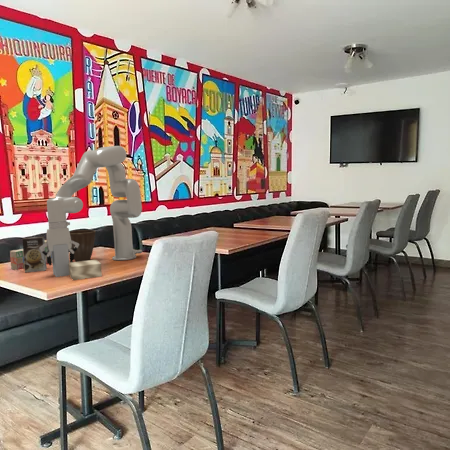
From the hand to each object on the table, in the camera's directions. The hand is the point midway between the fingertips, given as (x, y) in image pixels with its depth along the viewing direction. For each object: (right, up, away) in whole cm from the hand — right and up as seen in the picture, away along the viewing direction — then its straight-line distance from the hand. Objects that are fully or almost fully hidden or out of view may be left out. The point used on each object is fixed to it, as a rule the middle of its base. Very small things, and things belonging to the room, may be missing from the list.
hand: (60, 263), depth 189 cm
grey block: (0, -5, +1) cm, 5 cm away
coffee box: (-17, -5, +13) cm, 22 cm away
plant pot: (-1, -2, +33) cm, 33 cm away
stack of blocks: (-24, -4, +27) cm, 36 cm away
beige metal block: (+12, -5, -4) cm, 14 cm away
